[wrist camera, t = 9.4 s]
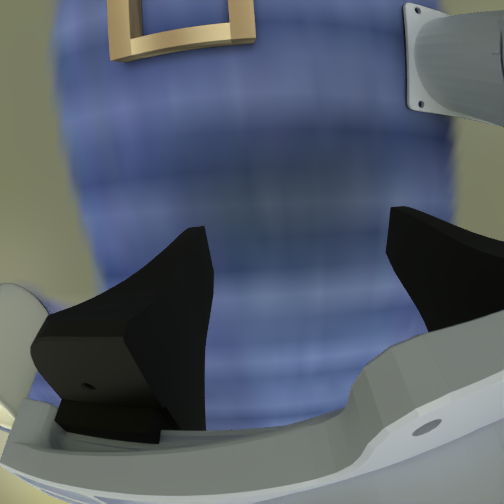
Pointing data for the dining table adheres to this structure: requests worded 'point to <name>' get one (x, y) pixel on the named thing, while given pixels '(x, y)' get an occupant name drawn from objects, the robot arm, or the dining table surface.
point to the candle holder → (17, 347)
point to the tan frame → (173, 32)
